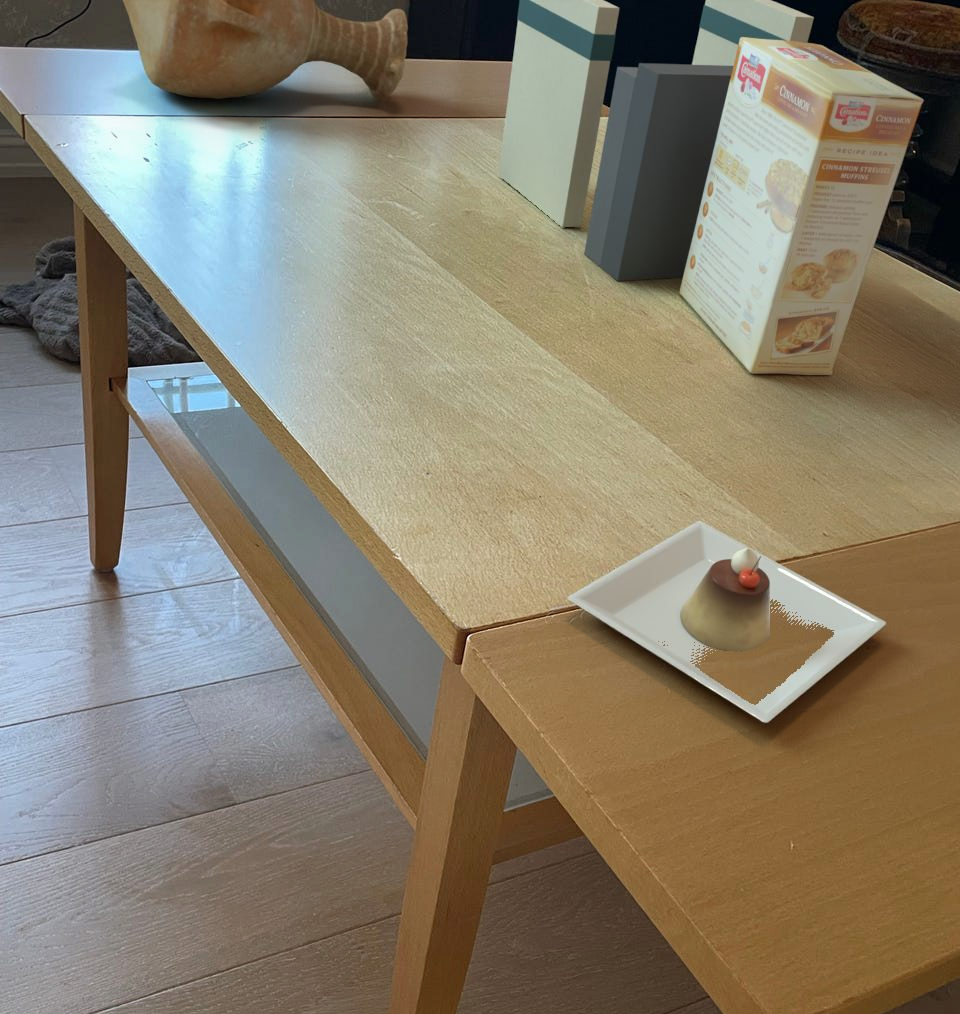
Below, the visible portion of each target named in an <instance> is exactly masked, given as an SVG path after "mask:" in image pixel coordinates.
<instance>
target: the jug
mask: <svg viewBox="0 0 960 1014" xmlns="http://www.w3.org/2000/svg"><path fill="white" fill-rule="evenodd" d="M122 2H123V4H124V7H125V9H126V11H127V14H128V18H129V21H130V25H131V28H132V32H133V35H134V38H135V41H136V44H137V48H138V49H137V50H138V53H139V56H140V61H141V63H142V67H143V70H144V72H145V74H146V76H147V77H146V78H148V80H149V81H150V82H151V84H152V85H154V86H155V87H158V88H159V89H161V90H163V91H164V92H168V93H173V94H176V95H180V96H184V97H187V98H188V97H189V98H198V99H216V100H221V99H222V100H223V99H229V98H231V99H233V98H241V97H247V96H252V95H256V94H260V93H264V92H266V91H268V90H270V89H272V88H274V87H276V86H277V85H279V84H280V83H282V82H283V81H285V80H286V79H288V78H289V77H290V76H291V75H292V74H293V73H294V72H295V71H296V70H297V69H298V68H300V66H302V65H304V64H306V63H312V62H323V63H324V62H325V63H329V64H334V65H335V66H339V67H341V68H343V69H344V70H346V71H349V72H350V73H352V74H354V75H356V76H357V77H359V78H360V79H362V81H363V82H364V84H365V85H366V86H367V87H368V90H369V92H370V95H371V96H373V97H372V98H373V100H375V101H376V100H377V101H376V102H378V101H379V103H383V102H385V101H387V99H389V97H390V96H391V95H392V94H393V93H394V92H395V90H396V89H397V87H398V85H399V83H400V81H401V80H402V78H403V75H404V70H405V64H406V57H407V47H408V30H409V26H408V19H407V15H406V13H405V11H404V10H403V9H401V8H394V9H391V10H390V11H389V12H387V13H386V14H385V15H384V16H383V17H382V19H379V20H376V21H354V20H348V19H344V18H339V17H336V16H334V15H333V14H330V13H328V12H325V11H323V10H322V9H320V8H319V7H318V6H317V4H316V2H315V1H314V0H122Z"/></svg>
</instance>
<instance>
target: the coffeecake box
mask: <svg viewBox="0 0 960 1014" xmlns="http://www.w3.org/2000/svg"><path fill="white" fill-rule="evenodd" d="M924 101H925V100H924V99H923V98H922V97H920V96H918V95H917V94H914V93H912V92H911V91H908V90H906V89H905V88H903V87H901V86H898V85H897V84H895V83H893V82H891V81H890V80H887V79H885V78H883V77H882V76H880V75H878V74H876V73H874V72H872V71H871V70H868V69H867V68H865V67H863V66H861V65H859V64H858V63H856V62H853V61H852V60H850V59H848V58H846V57H844V56H842V55H840V54H838V53H836V52H835V51H833V50H831V49H829V48H828V47H826V46H824V45H822V44H817V43H812V42H808V43H804V42H796V41H785V40H769V39H757V38H747V37H741V38H740V40H739V44H738V49H737V54H736V58H735V62H734V67H733V71H732V75H731V79H730V83H729V87H728V91H727V96H726V100H725V104H724V108H723V113H722V117H721V121H720V125H719V129H718V133H717V138H716V142H715V146H714V150H713V154H712V159H711V163H710V167H709V171H708V175H707V179H706V184H705V188H704V192H703V196H702V200H701V205H700V209H699V213H698V217H697V221H696V226H695V230H694V234H693V238H692V242H691V246H690V250H689V254H688V259H687V263H686V267H685V271H684V275H683V277H682V280H681V284H680V287H679V291H678V292H679V294H680V296H681V297H682V298H683V300H685V301H686V302H687V303H688V304H689V305H690V307H691V308H692V309H693V310H694V311H695V312H696V313H697V314H698V316H699V317H700V318H701V319H702V320H703V322H705V323H706V325H707V326H708V327H709V328H710V329H711V330H712V332H713V333H714V334H715V335H716V336H717V337H718V338H719V340H720V341H721V342H722V343H723V344H724V345H725V346H726V347H727V349H728V350H729V351H730V352H731V353H732V354H733V356H735V358H736V359H737V360H738V361H739V362H740V363H741V364H742V365H743V367H745V369H746V370H747V371H748V372H749V374H754V375H757V374H759V375H760V374H765V375H767V374H779V375H780V374H781V375H803V376H832V375H833V370H834V366H835V363H836V360H837V358H838V354H839V351H840V348H841V344H842V342H843V340H844V337H845V333H846V329H847V327H848V324H849V321H850V319H851V315H852V312H853V309H854V306H855V304H856V302H857V301H856V300H857V298H858V294H859V291H860V288H861V286H862V283H863V280H864V276H865V273H866V271H867V268H868V265H869V263H870V259H871V257H872V253H873V250H874V247H875V245H876V241H877V238H878V236H879V233H880V229H881V227H882V223H883V221H884V218H885V215H886V211H887V209H888V205H889V203H890V200H891V197H892V193H893V191H894V188H895V185H896V183H897V179H898V176H899V174H900V170H901V167H902V165H903V162H904V158H905V155H906V152H907V149H908V146H909V143H910V140H911V137H912V134H913V132H914V128H915V126H916V122H917V119H918V117H919V113H920V110H921V108H922V105H923V103H924Z"/></svg>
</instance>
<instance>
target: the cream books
mask: <svg viewBox="0 0 960 1014" xmlns="http://www.w3.org/2000/svg"><path fill="white" fill-rule="evenodd" d="M619 14H620V7H618V6H616V5H614V4H612V3H610V2H608V1H606V0H519V1H518V10H517V18H516V19H517V24H516V31H515V32H516V33H515V41H514V46H513V47H514V49H513V56H512V63H511V71H510V79H509V88H508V95H507V103H506V111H505V119H504V126H503V136H502V141H501V150H500V158H499V166H498V175H499V176H500V177H501V178H502V179H504V180H505V181H507V183H509V184H510V185H511V186H513V187H514V188H515V189H516V190H518V191H519V192H520V193H521V194H522V195H523V196H525V197H526V198H527V199H528V200H529V201H531V202H532V203H533V204H534V205H536V206H537V207H538V208H539V209H540V210H539V209H538V208H537V207H536V206H535V207H536V208H537V209H538V210H539V211H541V210H542V211H543V212H544V213H545V214H544V213H543V212H542V211H541V212H542V213H543V214H544V215H545V216H547V215H548V216H549V217H550V218H549V217H548V216H547V217H548V218H549V219H551V220H552V221H553V220H554V221H555V222H554V221H553V222H554V223H556V224H557V225H558V226H559V225H560V226H559V227H561V228H562V229H566V228H565V227H575V228H582V225H583V220H584V214H585V209H586V202H587V197H588V190H589V185H590V179H591V174H592V173H591V172H592V168H593V163H594V157H595V151H596V144H597V139H598V133H599V128H600V122H601V116H602V110H603V106H604V105H603V104H604V99H605V93H606V87H607V82H608V76H609V71H610V64H611V61H612V58H613V52H614V47H615V41H616V30H617V26H618V25H617V24H618V20H619V19H618V18H619ZM814 19H815V17H814V16H811V15H809V14H807V13H804V12H801V11H799V10H796V9H794V8H791V7H789V6H786V5H784V4H782V3H779V2H777V1H774V0H705V2H704V4H703V8H702V13H701V18H700V23H699V30H698V35H697V40H696V44H695V48H694V53H693V57H692V62H691V65H721V66H734V62H735V58H736V54H737V49H738V44H739V40H740V38H741V37H747V38H757V39H769V40H785V41H796V42H804V43H809V38H810V34H811V30H812V27H813V26H812V25H813V22H814ZM498 175H497V176H498ZM501 178H500V179H501ZM502 179H501V180H502ZM507 183H506V184H507ZM511 186H510V187H511ZM516 190H515V191H516ZM521 194H520V195H521ZM522 195H521V196H522ZM523 196H522V197H523ZM526 198H525V199H526ZM527 199H526V200H527ZM528 200H527V201H528ZM529 201H528V202H529ZM531 202H530V203H531ZM532 203H531V204H532ZM533 204H532V205H533ZM534 205H533V206H534Z"/></svg>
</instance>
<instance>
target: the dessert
mask: <svg viewBox="0 0 960 1014" xmlns="http://www.w3.org/2000/svg"><path fill="white" fill-rule="evenodd" d="M772 599H773V602H774V601H775V600H777V602H780V603H778V605H779V604H781V606H780V607H779V608H778V610H779V609H780V608H781V607H782V605H785V606H783V607H782V609H781V611H782V610H783V609H784V608H785V609H784V610H783V611H782V612H783V613H784V612H785V611H786V614H787V613H788V612H789V611H790V612H789V614H788V615H787V617H788V616H789V615H790V617H789V618H788V619H787V621H788V620H789V619H790V618H791V617H792V616H793V615H794V617H792V618H791V621H792V620H793V619H794V618H795V617H796V616H798V617H796V618H795V619H794V620H795V621H796V620H797V619H798V622H799V621H800V620H801V619H802V621H801V622H800V623H799V625H800V624H801V623H802V622H803V621H804V620H805V621H804V622H803V623H802V626H803V625H804V624H805V623H806V626H807V625H808V624H809V626H810V625H811V624H812V623H814V622H816V623H814V624H813V626H814V625H815V624H817V623H819V624H818V625H821V626H820V627H822V626H824V627H823V628H825V627H827V629H830V630H834V631H832V632H834V635H833V637H831V638H830V639H828V641H826V642H825V644H824V645H822V647H821V648H820V649H818V650H817V651H816V652H815V653H813V654H812V656H810V657H809V659H807V660H806V661H805V664H804V665H802V666H801V668H800V669H797V671H796V672H794V673H793V674H791V675H790V676H789V677H788V678H787V679H786V681H785V682H784V683H782V684H781V686H778V687H776V689H775V690H774V691H773V692H771V694H767V696H766V697H765V698H764V699H761V701H759V703H758V704H756V705H754V704H751V703H749V702H748V701H746V700H744V699H742V698H741V697H740V696H738V695H737V694H735V693H734V692H732V691H731V690H729V689H727V688H725V687H724V686H723V685H721V684H720V683H718V682H717V681H715V680H714V679H712V678H710V677H709V676H708V675H706V674H705V673H703V672H702V671H700V669H699V668H697V667H695V664H697V663H695V664H692V663H694V662H696V661H698V660H694V659H696V658H698V657H700V656H702V655H704V654H701V653H702V652H704V651H701V650H703V649H704V648H706V647H708V646H710V647H709V648H711V647H713V649H714V648H716V649H719V650H723V651H735V652H737V651H740V652H742V651H743V650H744V651H746V650H750V649H755V648H757V647H759V646H761V645H762V644H764V643H765V642H766V641H767V640H768V638H769V636H770V605H771V604H772V603H771V604H770V601H771V600H772ZM567 600H568V601H569V602H570V603H572V604H574V605H575V606H577V607H579V608H580V609H581V610H584V612H586V613H588V614H589V615H591V616H593V617H595V618H596V619H598V620H599V621H601V622H602V623H604V624H605V625H607V626H608V627H610V628H612V629H614V630H615V631H617V632H618V633H620V634H622V635H623V636H624V637H626V638H628V639H630V640H631V641H632V642H634V643H636V644H638V645H639V646H641V647H642V648H644V649H646V650H647V651H649V652H650V653H652V654H653V655H655V656H656V657H658V658H660V659H661V660H663V661H665V662H666V663H668V664H669V665H670V666H673V668H675V669H678V670H679V671H680V672H682V673H684V674H685V675H687V676H688V677H690V678H692V679H693V680H695V681H697V682H698V683H699V684H702V686H704V687H706V688H707V689H709V690H710V691H713V692H714V693H715V694H717V695H718V696H720V697H722V698H723V699H725V700H727V701H728V702H730V703H731V704H733V705H734V706H736V707H738V708H739V709H740V710H742V711H744V712H746V713H748V714H749V715H750V716H752V717H753V718H755V719H757V720H759V721H760V722H762V723H765V724H767V723H769V722H770V721H772V719H774V718H775V717H776V716H778V715H779V714H780V713H781V712H783V710H784V709H786V708H788V707H789V705H791V704H792V703H793V702H795V700H797V699H798V698H799V697H800V696H801V695H803V694H804V693H806V692H807V690H809V689H810V688H811V687H813V686H814V685H815V684H816V683H817V682H818V681H820V680H821V679H822V678H823V677H824V676H826V674H828V673H829V672H831V671H832V670H833V669H834V668H835V667H836V666H837V665H839V664H840V663H841V662H843V661H844V660H845V659H846V658H847V657H849V656H850V655H851V654H852V653H853V652H855V651H856V650H857V649H858V648H859V647H861V646H862V645H863V644H864V643H866V642H867V641H868V640H869V639H870V638H871V637H873V636H874V635H875V634H876V633H878V632H879V631H880V630H881V629H883V628H884V626H886V625H887V622H886V621H885V620H884V619H881V618H879V617H877V616H876V615H874V614H872V613H871V612H869V611H867V610H865V609H863V608H861V607H859V606H857V605H856V604H854V603H852V602H850V601H849V600H846V599H845V598H843V597H841V596H839V595H837V594H835V593H833V592H832V591H830V590H828V589H826V588H825V587H822V586H821V585H820V584H817V583H815V582H813V581H812V580H810V579H808V578H806V577H805V576H802V575H800V574H799V573H797V572H795V571H794V570H792V569H790V568H788V567H786V566H784V565H783V564H781V563H778V562H777V561H774V560H773V559H772V558H770V557H768V556H766V555H764V554H763V553H760V552H759V551H757V550H756V549H753V548H752V547H750V546H748V545H746V544H744V543H742V542H740V541H739V540H737V539H735V538H733V537H731V536H730V535H727V534H726V533H724V532H722V531H721V530H719V529H717V528H715V527H713V526H711V525H709V524H707V523H705V522H704V521H703V520H697V521H695V522H694V523H692V524H690V525H689V526H687V527H685V528H683V529H682V530H680V531H677V532H676V533H675V534H673V535H671V536H669V537H668V538H666V539H665V540H663V541H661V542H659V543H658V544H655V545H654V546H652V547H651V548H649V549H647V550H645V551H644V552H642V553H641V554H639V555H637V556H635V557H633V558H632V559H630V560H628V561H626V562H624V563H623V564H621V565H619V566H617V567H616V568H615V569H613V570H611V571H609V572H608V573H606V574H604V575H603V576H601V577H599V578H597V579H596V580H594V581H592V582H591V583H589V584H587V585H586V586H584V587H582V588H580V589H578V590H577V591H575V592H573V593H572V594H570V595H568V596H567ZM777 602H776V603H777ZM776 603H775V604H776ZM775 604H774V605H775ZM777 607H778V606H777ZM777 607H775V608H774V609H776V608H777ZM772 608H773V607H771V609H772ZM773 611H774V610H773ZM773 611H772V612H773ZM781 611H780V612H781ZM772 612H771V613H772ZM776 612H777V611H776ZM776 612H775V613H776ZM780 612H779V613H780ZM792 612H793V613H792ZM796 612H797V613H796ZM795 613H796V614H795ZM786 614H785V615H786ZM785 615H784V616H785ZM784 616H783V617H784ZM800 616H801V617H800ZM808 620H809V621H808ZM791 621H790V622H791ZM811 621H812V622H811ZM790 622H789V623H790ZM798 622H797V623H798ZM793 623H794V622H793ZM793 623H791V625H792V624H793ZM797 623H796V624H797ZM796 624H795V625H796ZM822 624H823V625H822ZM818 625H816V627H817V626H818ZM806 626H805V627H806ZM807 628H808V627H807ZM807 628H806V629H807ZM811 628H812V627H811ZM811 628H810V629H811ZM814 629H815V628H814ZM814 629H813V630H814ZM658 641H659V642H658ZM664 641H665V642H664ZM662 642H663V643H662ZM694 642H695V643H694ZM703 643H704V644H703ZM664 644H665V646H663V645H664ZM667 645H668V646H667ZM694 645H695V646H694ZM699 645H700V646H699ZM703 646H705V647H703ZM699 648H700V650H697V649H699ZM709 648H706V649H705V651H706V650H708V649H709ZM692 649H694V650H692ZM713 649H710V651H711V650H713ZM696 650H697V651H696ZM699 651H700V653H697V652H699ZM715 651H716V650H715ZM692 652H694V653H692ZM708 652H709V651H708ZM695 653H697V654H695ZM706 653H707V652H705V654H706ZM712 653H713V652H712ZM693 654H694V656H691V655H693ZM710 654H711V653H710ZM697 655H699V656H698V657H695V656H697ZM706 656H707V655H706ZM704 657H705V656H704ZM691 658H693V659H691ZM700 659H702V658H699V660H700ZM692 660H694V661H693V662H690V661H692ZM704 660H705V659H704ZM699 662H701V661H698V663H699ZM699 665H700V664H699Z"/></svg>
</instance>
